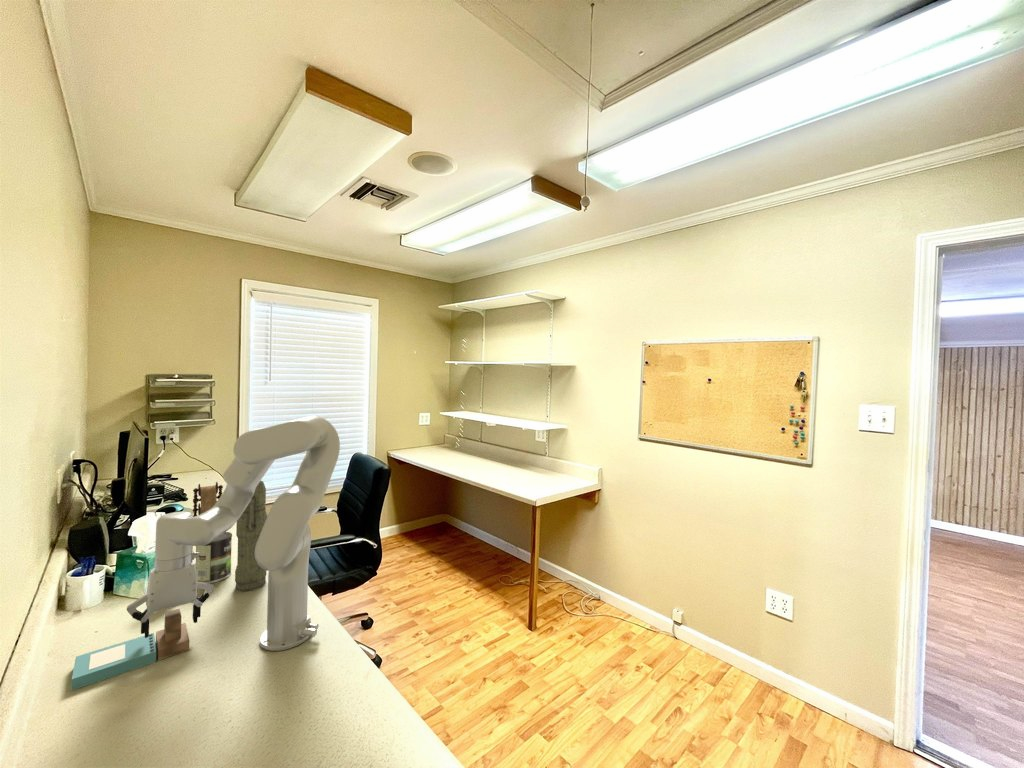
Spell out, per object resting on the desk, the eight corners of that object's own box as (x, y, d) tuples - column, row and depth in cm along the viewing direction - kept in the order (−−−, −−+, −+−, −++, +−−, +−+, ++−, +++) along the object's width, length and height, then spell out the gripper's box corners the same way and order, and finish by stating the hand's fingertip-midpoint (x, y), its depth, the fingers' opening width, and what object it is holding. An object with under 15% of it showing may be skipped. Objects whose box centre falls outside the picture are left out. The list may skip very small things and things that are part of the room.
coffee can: (234, 568, 148) (235, 530, 149) (226, 581, 139) (227, 540, 139) (200, 572, 145) (201, 533, 145) (189, 586, 135) (190, 544, 135)
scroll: (189, 532, 182) (190, 488, 182) (186, 523, 193) (187, 482, 193) (228, 525, 192) (229, 483, 192) (224, 517, 203) (224, 477, 203)
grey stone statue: (264, 574, 144) (266, 476, 144) (267, 588, 135) (270, 483, 135) (234, 581, 139) (236, 479, 139) (235, 596, 129) (238, 487, 130)
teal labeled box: (153, 642, 106) (154, 631, 106) (155, 661, 99) (156, 650, 99) (75, 667, 96) (75, 655, 96) (71, 690, 89) (71, 678, 89)
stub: (185, 631, 110) (185, 602, 111) (189, 649, 103) (189, 618, 103) (155, 641, 106) (156, 610, 106) (158, 660, 99) (158, 627, 99)
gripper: (212, 548, 114) (210, 609, 113) (127, 566, 102) (125, 634, 101) (217, 557, 108) (214, 621, 108) (128, 577, 96) (125, 649, 96)
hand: (171, 627), depth 105 cm, fingers open, 9 cm apart
